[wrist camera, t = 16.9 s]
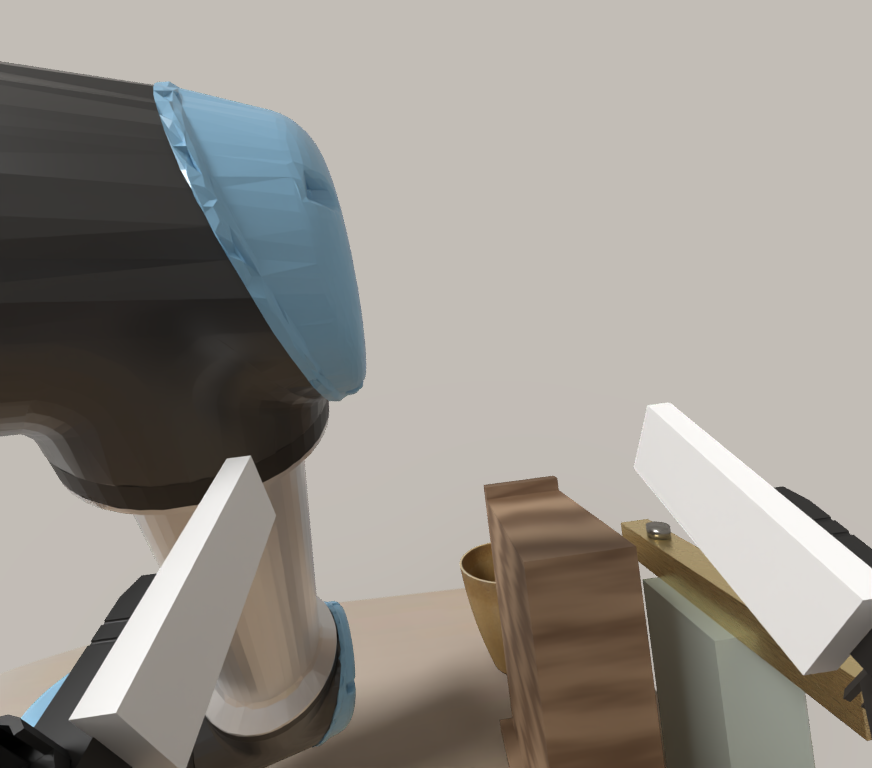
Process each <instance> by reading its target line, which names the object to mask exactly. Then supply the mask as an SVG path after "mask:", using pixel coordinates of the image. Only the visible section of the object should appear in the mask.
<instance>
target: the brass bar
mask: <svg viewBox="0 0 872 768" xmlns="http://www.w3.org/2000/svg"><path fill="white" fill-rule="evenodd" d="M621 527H622V535H623V537H624V538H626V539H627V540H628V541H630V542H631V543H632V544H634V545H635V546H636V549H637V557H638V561H639V562H640V563H641V564H642V565H644V566H645V567H646V568H648V569H649V570H650V571H652V572H653V573H654V574H655V575H656V576H658V577H659V578H660V579H662V580H663V581H664V582H665V583H667V584H668V585H669V586H670V587H672V588H673V589H674V590H676V591H677V592H678V593H679V594H681V595H682V596H683V597H684V598H686V599H687V600H688V601H690V602H691V603H692V604H693V605H695V606H696V607H697V608H698V609H700V610H701V611H702V612H704V613H705V614H706V615H707V616H709V617H710V618H711V619H713V620H714V621H715V622H716V623H718V624H719V625H720V626H721V627H723V628H724V629H725V630H727V631H728V632H729V633H730V634H732V635H733V636H734V637H735V638H737V639H738V640H739V641H741V642H742V643H743V644H744V645H746V646H747V647H748V648H749V649H751V650H752V651H753V652H755V653H756V654H757V655H758V656H760V657H761V658H762V659H763V660H765V661H766V662H767V663H769V664H770V665H771V666H772V667H774V668H775V669H776V670H777V671H779V672H780V673H781V674H783V675H784V676H785V677H786V678H788V679H789V680H790V681H791V682H793V683H794V684H795V685H797V686H798V687H799V688H800V689H802V690H803V691H804V692H805V693H807V694H808V695H809V696H811V697H812V698H813V699H814V700H816V701H817V702H818V703H819V704H821V705H822V706H823V707H825V708H826V709H827V710H828V711H830V712H831V713H832V714H834V715H835V716H836V717H837V718H839V719H840V720H841V721H842V722H844V723H845V724H846V725H848V726H849V727H850V728H851V729H853V730H854V731H855V732H856V733H858V734H859V735H860V736H862V737H863V738H864V739H866V740H867V741H869V740H872V738H871V733H870V729H869V724H868V719H867V715H866V710H865V709H864V708H862V707H861V705H862V704H863V702H864V700H863V696H862V691H861V692H860V693H859V694H858V695H857V696H856V697H855V698H854V699H853V700H852V701H851V702H849V701H847V700H845V699H843V697H844V689H845V688H846V687H847V686H848V685H849V684H850V683H851V682H852V681H853V679H854V678H855V677H856V676H857V675H858V674H859V673H860V672H861V671H862V670H863V668H862V667H861V666H860V665H859V664H858V663H857V661H856V660H855V659H854V658H853V657H852V656H851V655H850V656H849V657H848V658H847V659H846V661H845V662H844V663H843V664H842V665H841V666H840V667H839V669H838V670H835V671H829V672H822V673H816V674H810V675H803V674H802V673H801V672H800V671H799V669H798V668H797V667H796V666H795V665H794V663H793V662H792V661H791V660H790V658H789V657H788V656H787V655H786V654H785V652H784V651H783V650H782V649H781V647H780V646H779V645H778V644H777V643H776V641H775V640H774V639H773V638H772V636H771V635H770V634H769V633H768V632H767V630H766V629H765V628H764V627H763V625H762V624H761V623H760V622H759V621H758V619H757V618H756V617H755V616H754V614H753V613H752V612H751V611H750V610H749V608H748V607H747V606H746V605H745V603H744V602H743V601H742V600H741V599H740V597H739V596H738V595H737V594H736V593H735V591H734V590H733V589H732V588H731V586H730V585H729V584H728V583H727V582H726V580H725V579H724V578H723V577H722V575H721V574H720V573H719V572H718V571H717V569H716V568H715V567H714V566H713V564H712V563H711V562H710V561H709V560H708V558H707V557H706V556H705V555H704V553H703V552H702V551H701V550H700V549H699V548H698V547H696V546H694V545H692V544H691V543H689V542H687V541H685V540H684V539H682V538H680V537H678V536H677V535H675V534H673V533H671V532H670V526H669V525H668V524H666V523H663V522H652V521H650V520H648V519H644V520H637V521H631V522H623V523H621Z"/></svg>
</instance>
